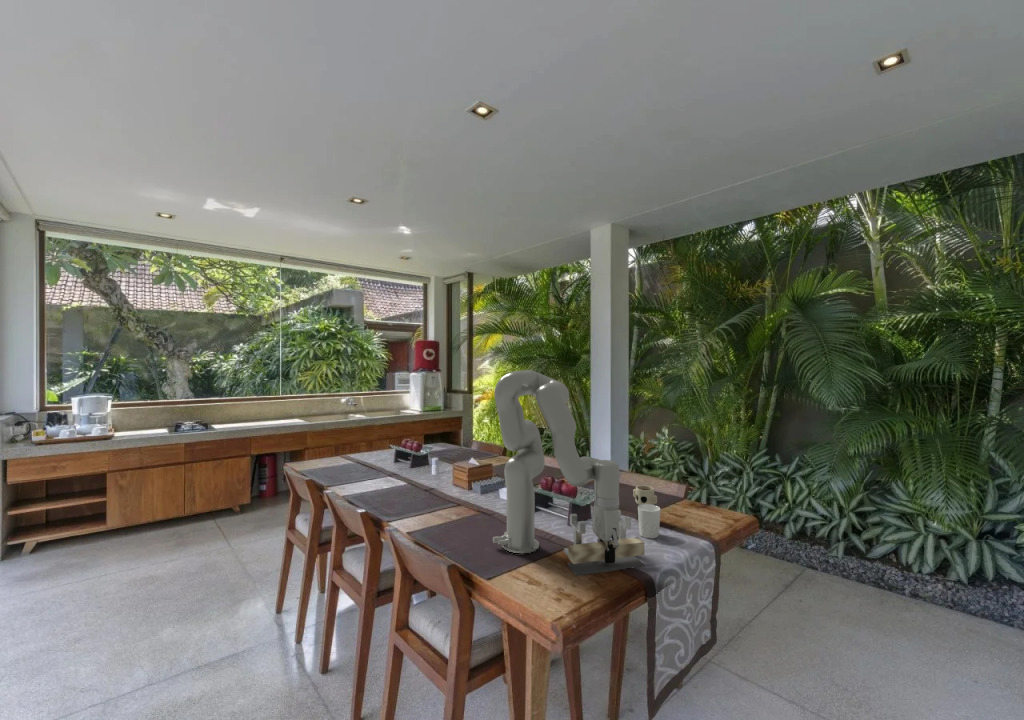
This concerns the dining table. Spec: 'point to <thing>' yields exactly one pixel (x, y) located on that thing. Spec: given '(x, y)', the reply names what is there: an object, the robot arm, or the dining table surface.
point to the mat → (604, 565)
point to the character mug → (644, 495)
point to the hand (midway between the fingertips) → (606, 558)
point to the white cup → (649, 520)
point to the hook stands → (581, 528)
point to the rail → (597, 550)
